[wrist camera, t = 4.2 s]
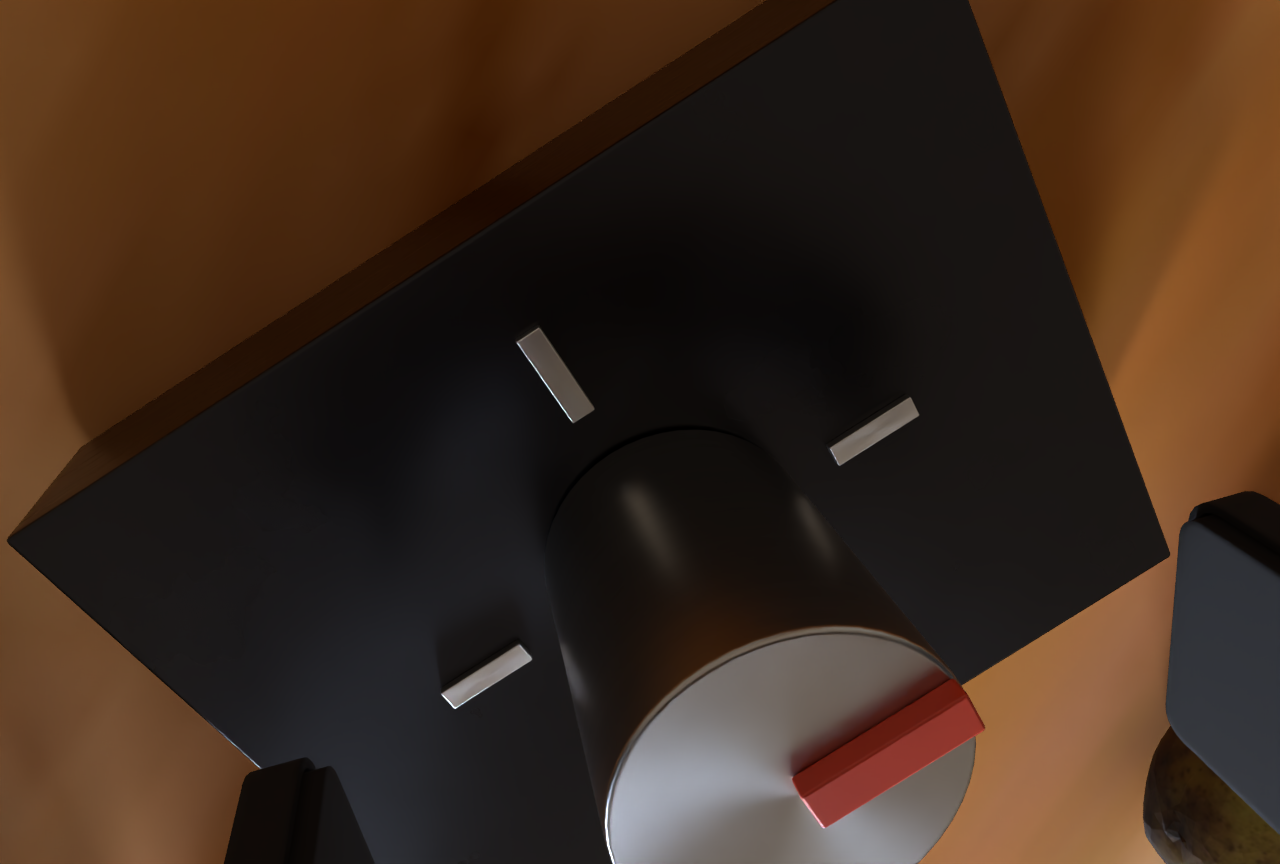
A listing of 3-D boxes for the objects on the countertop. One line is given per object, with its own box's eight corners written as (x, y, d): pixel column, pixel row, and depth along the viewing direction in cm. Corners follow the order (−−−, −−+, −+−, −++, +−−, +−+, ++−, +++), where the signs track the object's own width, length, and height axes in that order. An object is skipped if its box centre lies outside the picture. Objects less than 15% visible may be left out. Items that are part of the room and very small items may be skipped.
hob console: (481, 847, 20) (492, 986, 17) (79, 448, 15) (-3, 547, 12) (1066, 481, 19) (1179, 560, 16) (845, -52, 14) (951, -72, 11)
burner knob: (631, 706, 15) (729, 1020, 10) (489, 528, 13) (528, 805, 9) (845, 573, 15) (1045, 827, 10) (729, 375, 13) (905, 570, 8)
